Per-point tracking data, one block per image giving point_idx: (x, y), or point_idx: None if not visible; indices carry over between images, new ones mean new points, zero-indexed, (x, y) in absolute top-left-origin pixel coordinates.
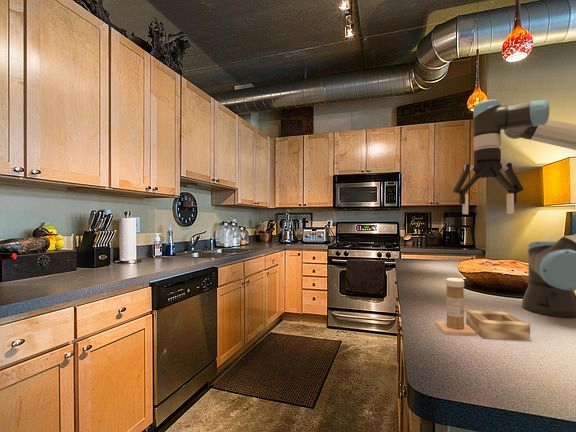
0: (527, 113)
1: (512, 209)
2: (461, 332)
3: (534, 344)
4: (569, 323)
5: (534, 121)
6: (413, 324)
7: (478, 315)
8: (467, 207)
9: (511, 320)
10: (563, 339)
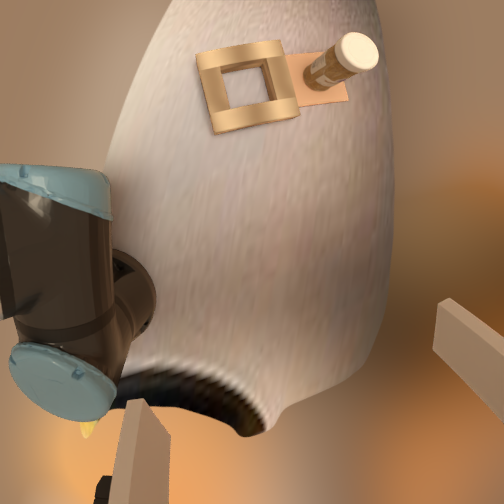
0: None
1: (131, 423)
2: (308, 53)
3: (195, 50)
4: None
5: None
6: (379, 89)
7: (281, 82)
8: (472, 324)
9: (221, 74)
10: (136, 97)
